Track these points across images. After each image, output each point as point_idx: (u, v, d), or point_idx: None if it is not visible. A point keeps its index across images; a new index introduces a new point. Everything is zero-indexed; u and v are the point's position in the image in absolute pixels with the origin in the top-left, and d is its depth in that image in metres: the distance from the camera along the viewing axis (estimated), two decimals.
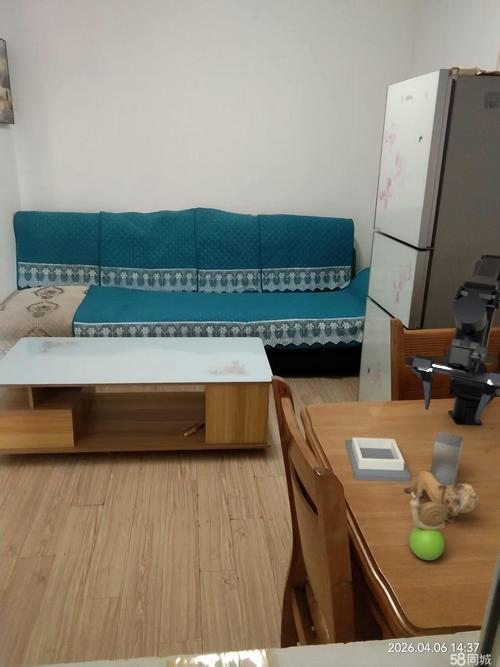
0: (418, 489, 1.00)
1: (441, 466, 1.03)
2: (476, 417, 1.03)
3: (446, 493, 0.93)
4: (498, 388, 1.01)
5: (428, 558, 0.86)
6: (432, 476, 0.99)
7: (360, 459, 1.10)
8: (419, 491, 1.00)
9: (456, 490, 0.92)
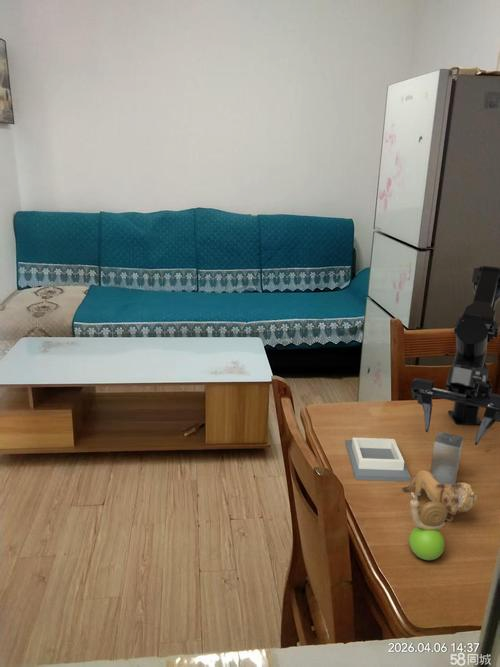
0: (416, 488, 1.00)
1: (441, 466, 1.03)
2: (476, 440, 1.03)
3: (445, 491, 0.94)
4: (498, 411, 1.02)
5: (428, 558, 0.86)
6: (430, 475, 0.99)
7: (360, 459, 1.10)
8: (417, 490, 1.00)
9: (454, 489, 0.92)
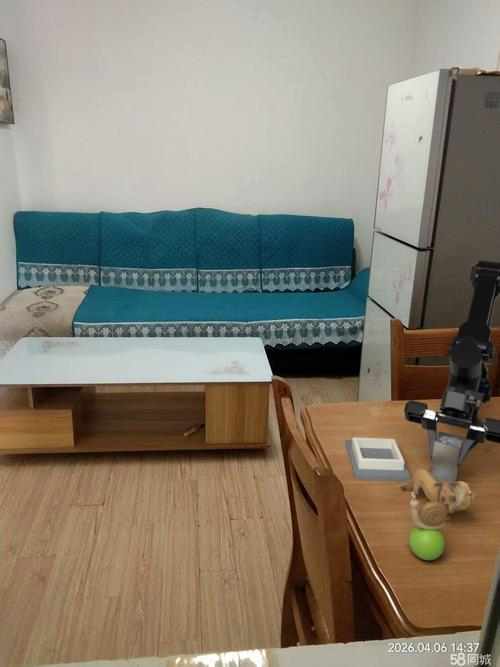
0: (414, 487, 1.00)
1: (441, 466, 1.03)
2: (458, 462, 1.02)
3: (442, 490, 0.94)
4: (481, 433, 1.01)
5: (428, 558, 0.86)
6: (428, 474, 0.99)
7: (360, 459, 1.10)
8: (415, 489, 1.00)
9: (452, 487, 0.93)
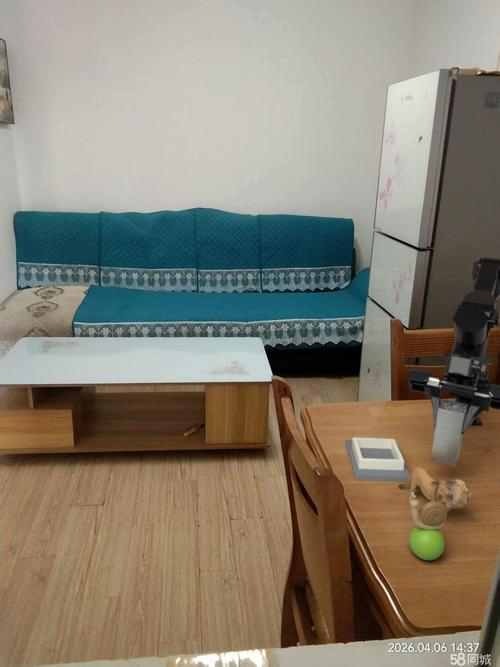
0: (412, 485, 1.01)
1: (445, 433, 1.00)
2: (463, 429, 0.99)
3: (439, 488, 0.95)
4: (486, 399, 0.99)
5: (428, 558, 0.86)
6: (425, 472, 1.00)
7: (360, 459, 1.10)
8: (413, 487, 1.01)
9: (449, 486, 0.93)
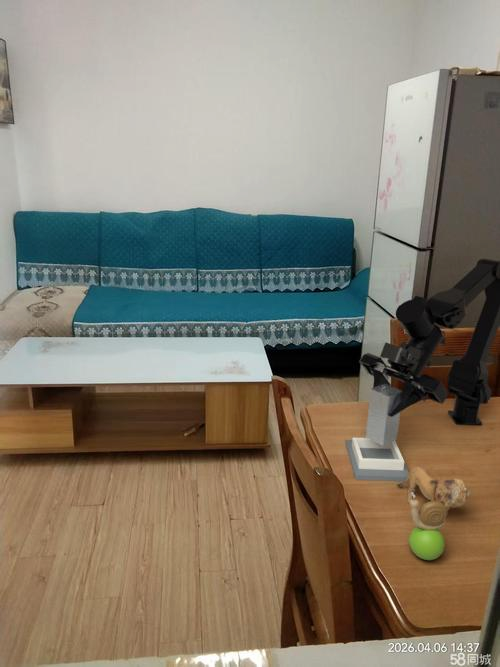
0: (410, 484, 1.01)
1: (375, 413, 1.10)
2: (390, 411, 1.08)
3: (438, 487, 0.95)
4: (413, 387, 1.05)
5: (428, 558, 0.86)
6: (424, 471, 1.00)
7: (360, 459, 1.10)
8: (411, 486, 1.01)
9: (447, 485, 0.94)
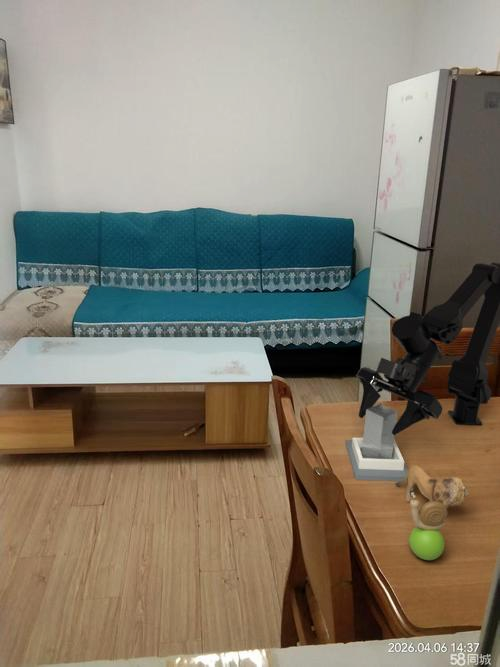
0: (409, 483, 1.02)
1: (371, 433, 1.12)
2: (393, 430, 1.08)
3: (436, 486, 0.95)
4: (417, 406, 1.05)
5: (428, 558, 0.86)
6: (423, 470, 1.00)
7: (360, 459, 1.10)
8: (410, 485, 1.01)
9: (446, 483, 0.94)
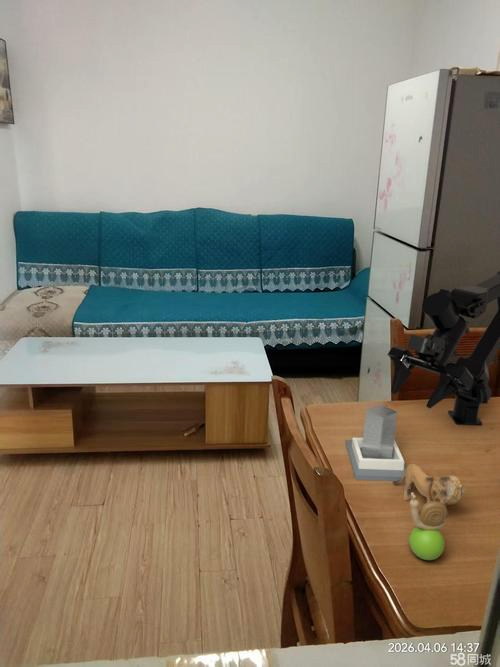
0: (406, 481, 1.02)
1: (370, 433, 1.12)
2: (428, 403, 1.11)
3: (433, 484, 0.96)
4: (449, 378, 1.09)
5: (428, 558, 0.86)
6: (420, 469, 1.01)
7: (360, 459, 1.10)
8: (407, 483, 1.02)
9: (443, 482, 0.94)
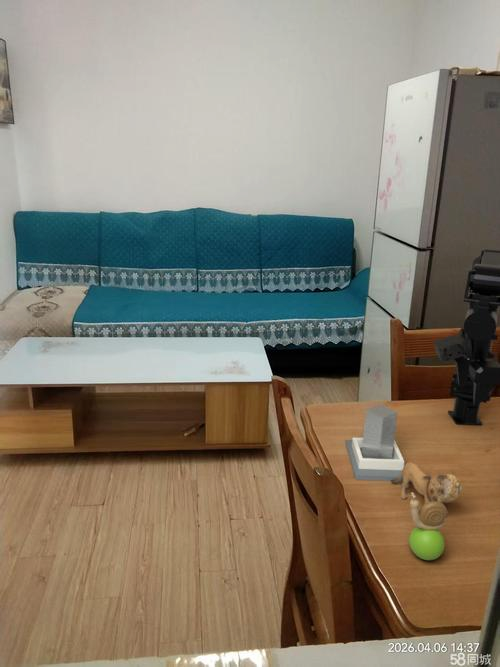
0: (404, 480, 1.02)
1: (370, 433, 1.12)
2: (473, 401, 1.12)
3: (431, 483, 0.96)
4: None
5: (428, 558, 0.86)
6: (417, 467, 1.01)
7: (360, 459, 1.10)
8: (405, 482, 1.02)
9: (440, 480, 0.95)
